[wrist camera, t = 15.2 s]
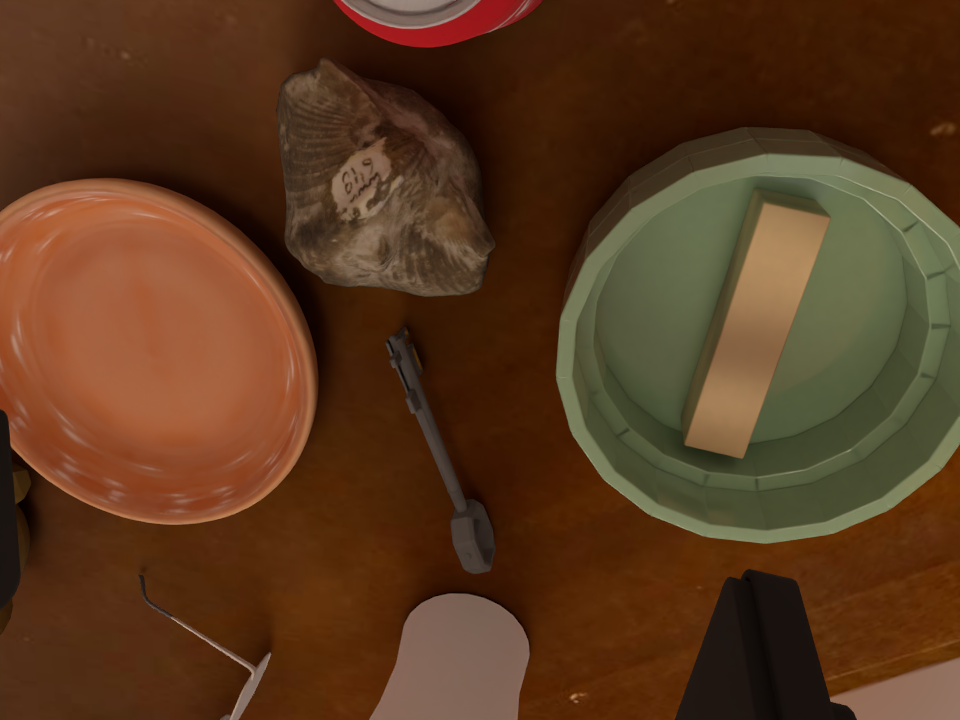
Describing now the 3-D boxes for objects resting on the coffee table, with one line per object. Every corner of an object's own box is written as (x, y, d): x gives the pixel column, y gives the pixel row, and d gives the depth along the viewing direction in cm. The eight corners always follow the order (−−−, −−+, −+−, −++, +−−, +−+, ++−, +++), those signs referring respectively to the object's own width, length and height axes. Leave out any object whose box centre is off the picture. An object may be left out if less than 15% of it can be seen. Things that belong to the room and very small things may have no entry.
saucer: (382, 461, 40) (364, 496, 38) (93, 518, 44) (58, 553, 42) (251, 120, 35) (220, 132, 32) (-65, 219, 39) (-117, 237, 36)
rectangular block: (754, 187, 32) (763, 202, 30) (818, 200, 32) (832, 216, 30) (680, 418, 37) (683, 446, 34) (736, 431, 36) (743, 460, 34)
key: (502, 545, 41) (492, 589, 38) (482, 549, 41) (471, 594, 38) (412, 317, 37) (394, 347, 34) (390, 323, 38) (371, 353, 34)
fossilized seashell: (552, 258, 33) (439, 3, 31) (431, 325, 28) (294, 33, 27) (432, 304, 38) (332, 89, 37) (316, 365, 34) (198, 125, 33)
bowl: (832, 46, 31) (878, 60, 25) (996, 363, 34) (1066, 436, 29) (500, 251, 36) (478, 300, 30) (675, 511, 39) (683, 596, 34)
